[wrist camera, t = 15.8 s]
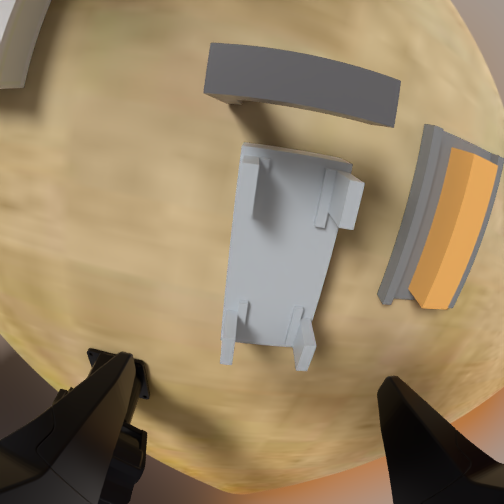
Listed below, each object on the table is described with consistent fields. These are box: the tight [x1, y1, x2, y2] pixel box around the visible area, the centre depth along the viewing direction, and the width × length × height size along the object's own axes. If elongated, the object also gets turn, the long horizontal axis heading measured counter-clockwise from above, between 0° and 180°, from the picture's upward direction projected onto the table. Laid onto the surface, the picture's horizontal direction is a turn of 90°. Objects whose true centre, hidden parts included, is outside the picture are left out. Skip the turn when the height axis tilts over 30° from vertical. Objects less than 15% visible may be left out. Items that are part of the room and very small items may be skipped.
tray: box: [377, 124, 504, 308], centre depth 19 cm, size 14×8×1 cm, turn 173°
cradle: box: [220, 142, 365, 371], centre depth 18 cm, size 14×6×5 cm, turn 173°
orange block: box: [408, 147, 498, 309], centre depth 18 cm, size 12×3×3 cm, turn 172°
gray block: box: [204, 43, 401, 128], centre depth 13 cm, size 2×7×8 cm, turn 83°
